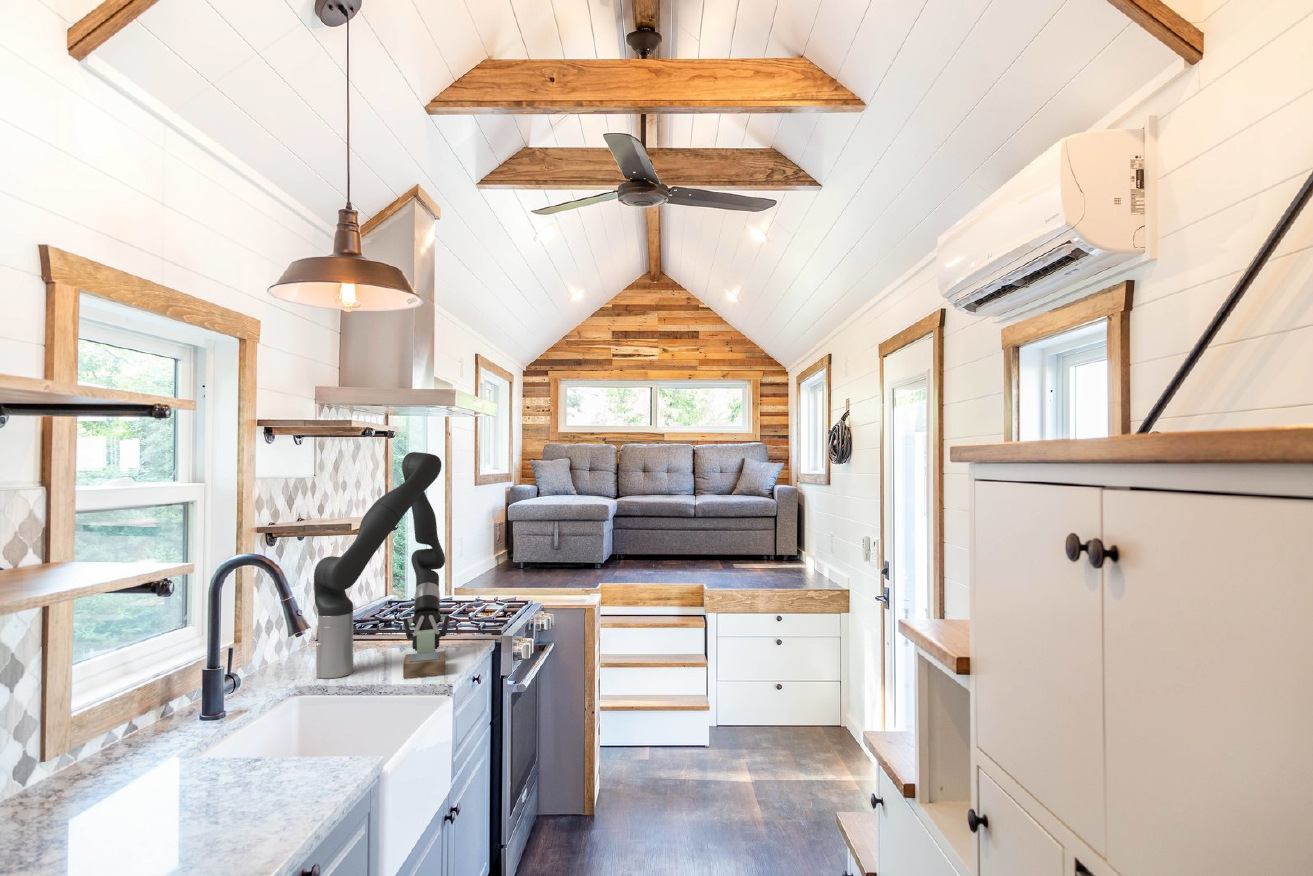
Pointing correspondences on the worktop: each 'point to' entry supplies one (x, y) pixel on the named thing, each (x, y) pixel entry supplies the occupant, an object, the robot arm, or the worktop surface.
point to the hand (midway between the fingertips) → (426, 648)
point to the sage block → (426, 641)
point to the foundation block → (424, 664)
